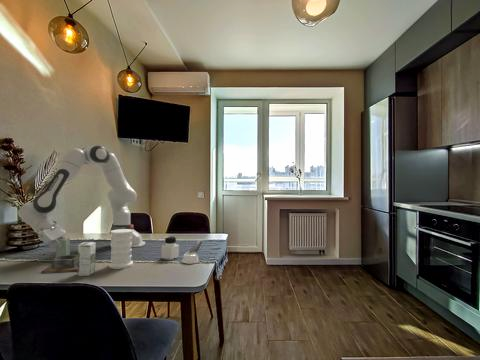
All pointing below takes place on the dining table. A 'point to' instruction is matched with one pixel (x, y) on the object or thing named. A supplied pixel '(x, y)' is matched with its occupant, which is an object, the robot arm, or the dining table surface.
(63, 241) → the square peg
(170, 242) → the medicine bottle
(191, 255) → the inkwell
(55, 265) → the collar stand
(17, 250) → the dining table surface
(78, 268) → the syrup box
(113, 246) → the decorative container
